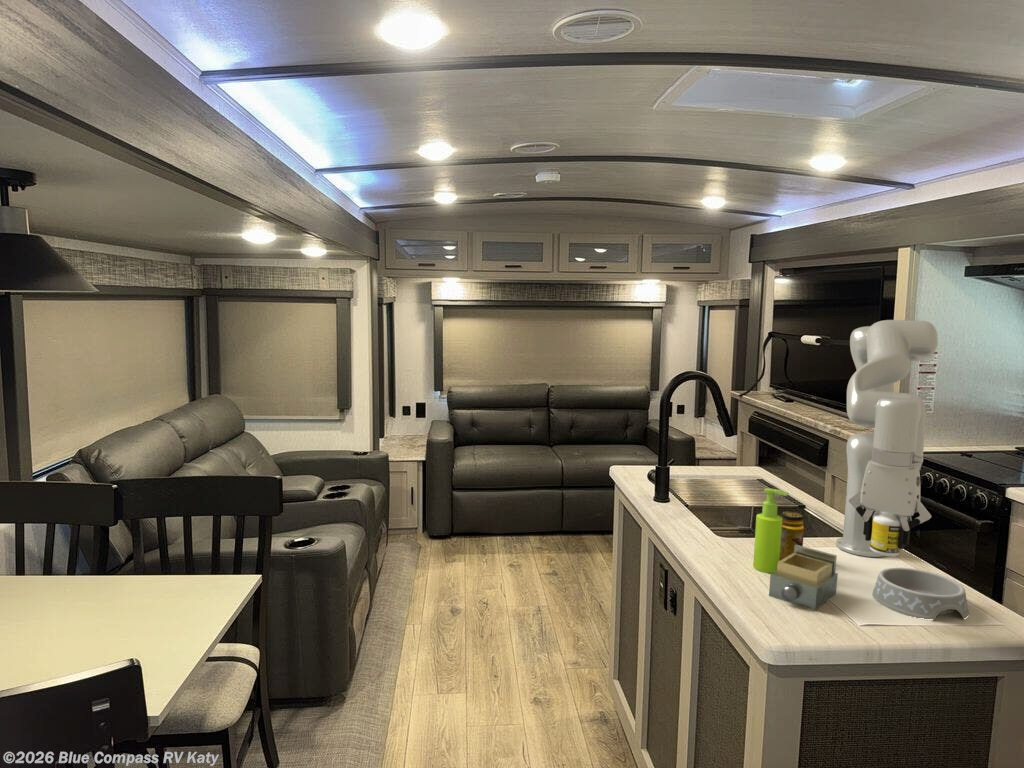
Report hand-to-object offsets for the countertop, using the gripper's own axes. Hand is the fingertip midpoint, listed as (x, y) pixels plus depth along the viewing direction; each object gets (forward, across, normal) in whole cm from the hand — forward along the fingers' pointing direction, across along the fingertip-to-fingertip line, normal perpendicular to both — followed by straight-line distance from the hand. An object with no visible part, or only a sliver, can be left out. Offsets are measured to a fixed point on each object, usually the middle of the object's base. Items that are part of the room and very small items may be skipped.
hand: (885, 542), depth 135 cm
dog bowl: (+16, -4, -13) cm, 22 cm away
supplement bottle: (+2, 0, 0) cm, 2 cm away
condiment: (+16, +27, -16) cm, 36 cm away
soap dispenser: (+16, +27, -6) cm, 32 cm away
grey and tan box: (+16, +15, +2) cm, 22 cm away
